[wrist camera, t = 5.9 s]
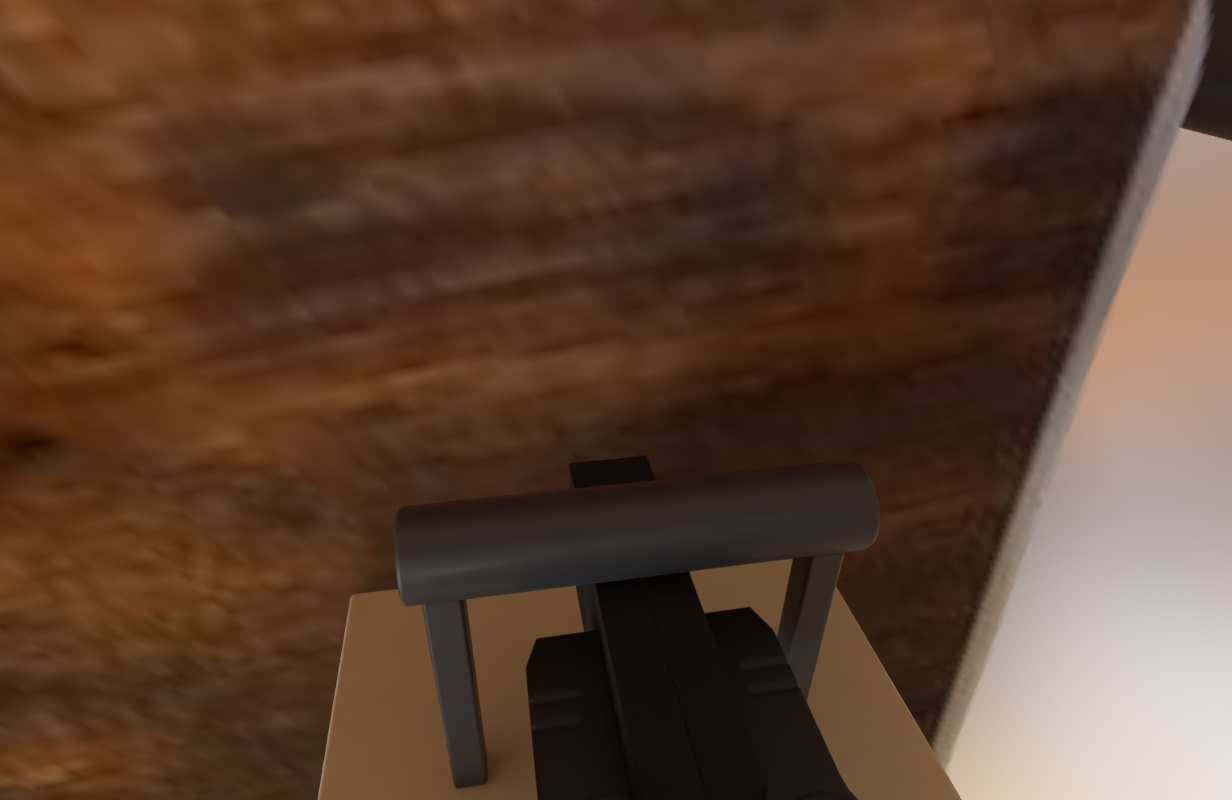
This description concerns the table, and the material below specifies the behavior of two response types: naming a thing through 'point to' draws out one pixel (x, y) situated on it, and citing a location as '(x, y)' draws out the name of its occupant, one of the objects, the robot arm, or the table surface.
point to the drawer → (548, 606)
